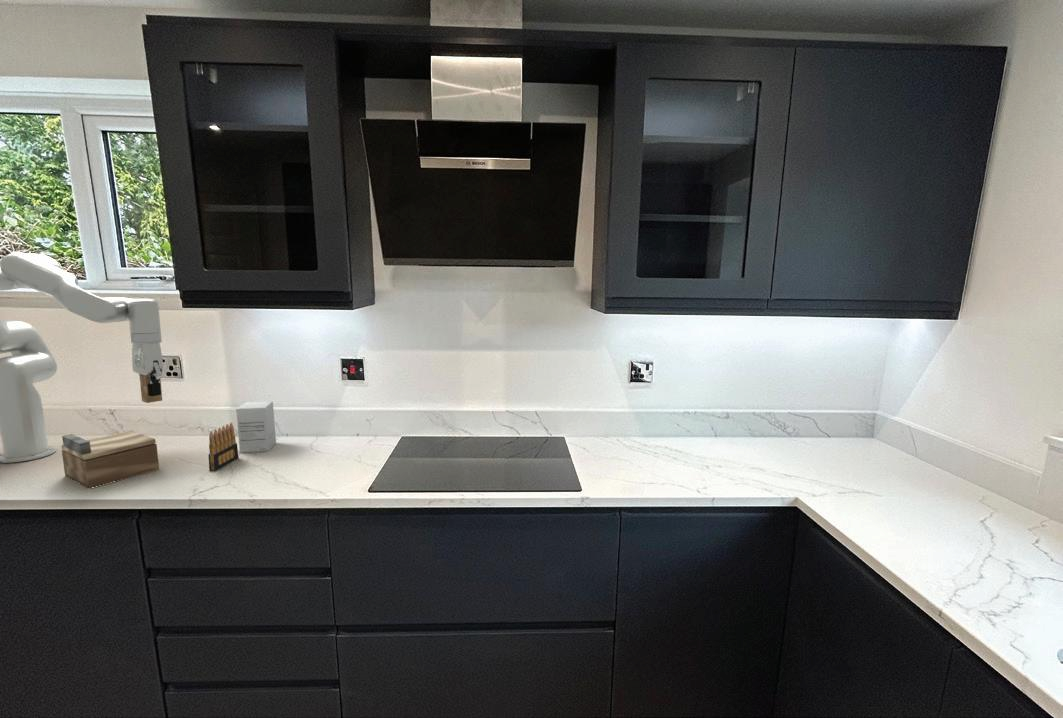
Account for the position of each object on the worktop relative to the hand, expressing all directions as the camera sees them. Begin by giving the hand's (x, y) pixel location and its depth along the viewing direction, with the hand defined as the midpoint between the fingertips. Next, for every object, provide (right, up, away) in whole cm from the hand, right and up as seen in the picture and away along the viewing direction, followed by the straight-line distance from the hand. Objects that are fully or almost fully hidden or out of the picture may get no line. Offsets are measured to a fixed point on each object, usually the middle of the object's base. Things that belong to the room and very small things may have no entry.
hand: (151, 393), depth 152 cm
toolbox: (+2, -22, -16) cm, 27 cm away
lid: (+2, -14, -17) cm, 22 cm away
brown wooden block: (0, -2, 0) cm, 2 cm away
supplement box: (+31, -19, +7) cm, 37 cm away
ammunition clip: (+29, -21, -8) cm, 37 cm away
